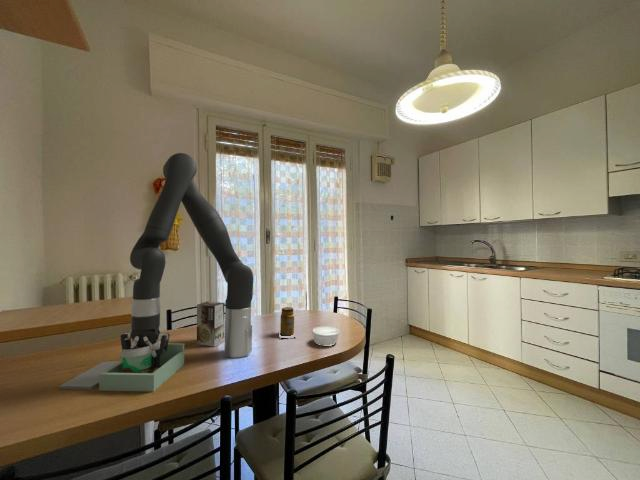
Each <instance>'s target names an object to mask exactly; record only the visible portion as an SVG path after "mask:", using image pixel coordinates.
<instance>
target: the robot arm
mask: <svg viewBox="0 0 640 480" xmlns="http://www.w3.org/2000/svg"><path fill="white" fill-rule="evenodd" d="M197 171H198V166H197V163H196V161H195V159H194V158H193V157H192V156H190V155H189V154H187V153H184V152H176V153H174V154H173V155H171V156H169V158H168V159H167V160H166V162H165V163H164V165H163V168H162V172H163V176H164V178H165V182H164V184H163V187H162V189H161V192H160V194H159V195H158V199H157V200H156V202H155V204H154V206H153V208H152V209H151V213H150V215H149V218H148V219H147V223H145V227H144V231H143V232H142V234H140V235H141V236H140V237H139V238H138V240H137V241H136V243H135V244H134V246H132V247H133V248H132V249H131V252H130V256H129V262H130V264H131V266H132V267H133V268H134V269H137V270H140V275H139V278H137V279H135V281H134V282H133V286H132V301H131V309H130V310H131V314H130V315H131V316H130V329H131V330H130V331H131V332H130V331H127V332H124V333H123V334H121V335H120V336H119V337H120V343H121V350H122V349H123V350H129V349H131V348H136V346H138V347H141V346H144V347H147V346H150V348H151V350H153V352H152V355H153V357H152V369H155V368H156V369H158V368H159V366H160V365H159V364H160V355H162V354H163V353H165V352H166V351H167V347H168V343H170V342H169V341H170V333H169V332H166V333H161V330H160V325H161V297H160V296H161V281H162V279H163V276H164V271H165V267H166V257H165V253H164V252H163V250H161V249H160V245H162V244H163V243H165V242H166V241H168V240H169V238H170V235H171V232H172V229H173V226H174V224H175V221H176V217H177V215H178V212H179V209H180V206H181V203H182V205H183V207H184V209H185V212H186V213H187V214H188V217H189V218H190V220H191V222H192V223H193V225H194V228H195V229H196V231H197V232H198V234H199V237H200V238H201V239H202V241H203V243H204V244H205V245H206V247H207V248H208V250H209V251H210V252H211V254H212V256H213V257H214V258H215V260H216V262H217V264H218V266H219V268H220V271H221V273H222V275H223V277H224V278H223V279H224V280H225V282H226V284H227V287H226V288H227V289H226V299H225V302H224V303H225V313H224V348H223V349H224V356H225V357H227V358H233V359H235V358H236V359H237V358H243V357H249V355H250V353H251V352H252V350H253V346H252V345H253V342H252V341H253V325H252V301H253V297H254V296H253V295H254V272H253V271H252V269H251V268H250V267H249V266H248V265H246V264H244V263H243V261H242V260H241V259H240V257H239V256H238V254H237V253H236V251H235V249H234V247H233V245H232V244H233V243H232V241H231V238H230V235H229V231H228V229H227V227H226V225H225V222H224V221H223V219H222V217H221V216H220V214H219V212H218V210H217V209H216V208H215V207H214V206H213V205H212V204H211V203H210V201H208V200H207V199H206V198H205V197H204V196H203V195H202V193H201V192H200V190H199V188H198V187H197V184H196V183H195V180H194V178H195V176H196V174H197ZM158 338H159V341H160V348H159V343H158V340H157V339H158ZM131 340H132V341H133V342H132V341H131ZM155 343H157V344H156V345H157V346H156V345H155V346H153V344H155ZM156 347H158V350H155V348H156Z"/></svg>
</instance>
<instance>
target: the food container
mask: <svg viewBox="0 0 640 480" xmlns="http://www.w3.org/2000/svg"><path fill="white" fill-rule="evenodd" d="M157 340H158V343H159V348H160V342H161V341H159V340H160V338H158V339H157ZM156 344H157V343H155V344H153V346H155V345H156ZM156 346H157V345H156ZM155 350H158V347H156V348H155ZM152 352H153V350H151V348H150V346H147V347H144V346H141V347H138V346H136V348H131V349H129V350H123V349H122V348H121V351H120V355H119V358H121V361H122V363H123V373H154V372H155V371H156V370H157V368H155V369H152V357H153V355H152Z"/></svg>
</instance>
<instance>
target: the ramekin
mask: <svg viewBox="0 0 640 480" xmlns="http://www.w3.org/2000/svg"><path fill="white" fill-rule="evenodd" d="M339 335H340V330H339V329H338V328H336V327H333V326H317V327H314V328H313V329H312V337H313V342H315V343H316V344H320V345H330V344H334V343H336V342H337V343H338V342H339V341H338V340H339ZM315 343H314V344H315ZM337 343H336V344H337ZM316 344H315V345H316Z"/></svg>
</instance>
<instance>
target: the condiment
mask: <svg viewBox="0 0 640 480" xmlns="http://www.w3.org/2000/svg"><path fill="white" fill-rule="evenodd" d="M279 324H280V326H279V328H280V332H279V333H280V335H281V336H291V335H293V334H295V314H294V307H287V306H285V307H283V308H281V314H280V323H279ZM278 339H279V340H282V339H281V338H279V337H278Z"/></svg>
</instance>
